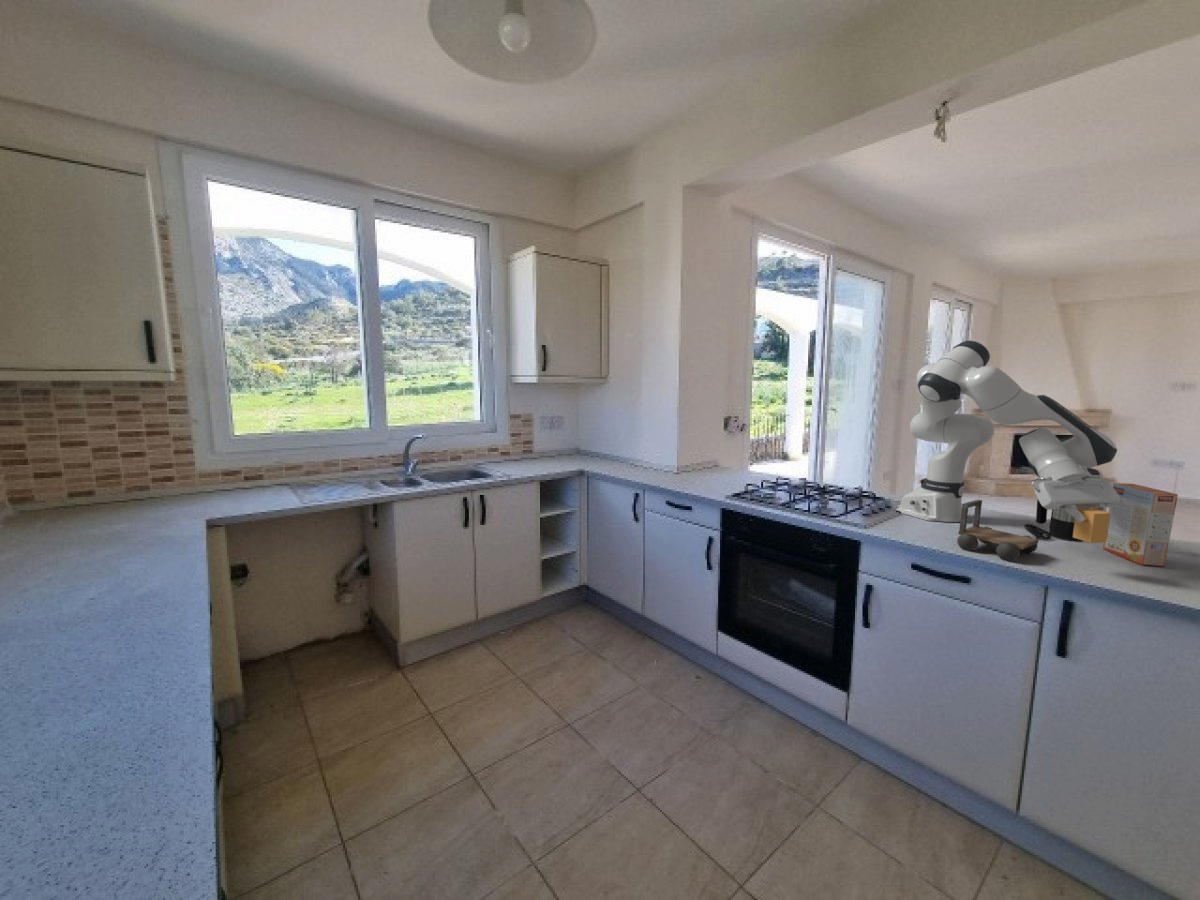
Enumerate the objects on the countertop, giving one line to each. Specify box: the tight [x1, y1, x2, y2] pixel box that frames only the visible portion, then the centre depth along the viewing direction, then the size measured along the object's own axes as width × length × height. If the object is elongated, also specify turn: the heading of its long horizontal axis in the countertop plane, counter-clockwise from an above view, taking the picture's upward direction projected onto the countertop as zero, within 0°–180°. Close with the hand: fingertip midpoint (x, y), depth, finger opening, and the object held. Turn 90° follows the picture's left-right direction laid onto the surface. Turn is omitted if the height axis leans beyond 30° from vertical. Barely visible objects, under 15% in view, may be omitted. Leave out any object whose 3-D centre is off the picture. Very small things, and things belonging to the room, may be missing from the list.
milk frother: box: [1023, 499, 1090, 543], centre depth 161 cm, size 14×16×15 cm
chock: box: [1073, 508, 1111, 544], centre depth 133 cm, size 5×5×8 cm
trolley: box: [956, 499, 1039, 562], centre depth 148 cm, size 16×14×14 cm
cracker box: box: [1102, 482, 1179, 567], centre depth 143 cm, size 14×6×21 cm, turn 168°
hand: (1094, 521), depth 132 cm, fingers closed on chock, 5 cm apart
